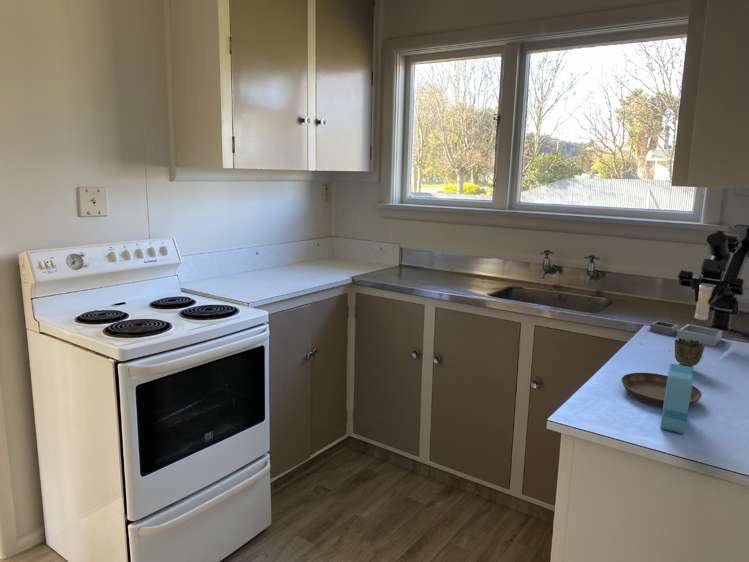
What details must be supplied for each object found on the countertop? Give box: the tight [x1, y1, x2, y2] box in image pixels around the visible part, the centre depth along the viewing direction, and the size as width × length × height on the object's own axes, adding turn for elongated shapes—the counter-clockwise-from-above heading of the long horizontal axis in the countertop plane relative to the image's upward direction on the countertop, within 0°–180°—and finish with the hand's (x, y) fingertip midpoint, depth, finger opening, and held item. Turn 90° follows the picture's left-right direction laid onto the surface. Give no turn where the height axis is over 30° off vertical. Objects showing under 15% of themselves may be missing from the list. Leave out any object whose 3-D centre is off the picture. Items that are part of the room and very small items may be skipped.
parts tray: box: [677, 323, 724, 347], centre depth 186 cm, size 10×10×4 cm
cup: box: [674, 338, 706, 369], centre depth 159 cm, size 8×7×8 cm
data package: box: [660, 363, 694, 435], centre depth 123 cm, size 12×4×12 cm, turn 151°
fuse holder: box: [645, 320, 679, 338], centre depth 193 cm, size 9×9×4 cm
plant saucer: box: [620, 372, 703, 408], centre depth 139 cm, size 18×18×3 cm
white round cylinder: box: [694, 284, 714, 321], centre depth 184 cm, size 4×4×11 cm
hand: (702, 302), depth 183 cm, fingers closed on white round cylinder, 4 cm apart
